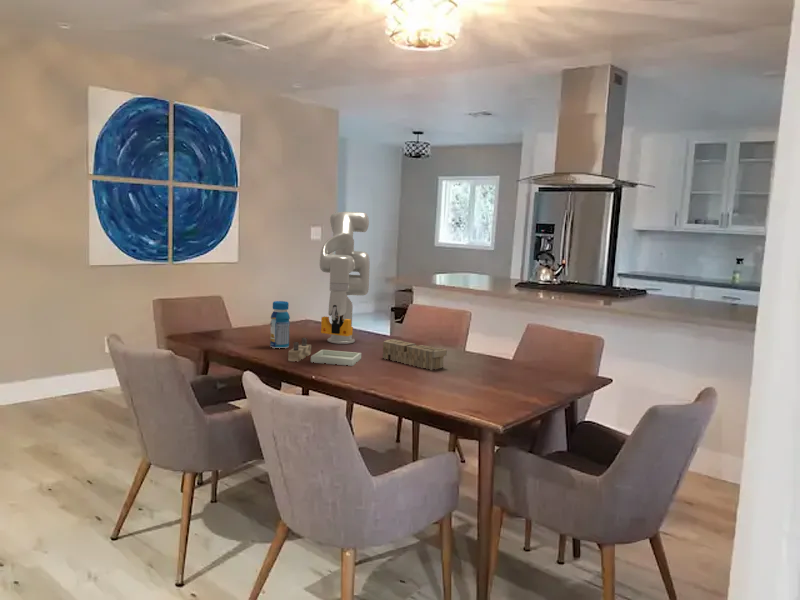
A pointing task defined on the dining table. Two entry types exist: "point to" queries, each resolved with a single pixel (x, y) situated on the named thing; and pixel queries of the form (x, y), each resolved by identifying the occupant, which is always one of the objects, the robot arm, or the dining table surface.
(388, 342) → the block tower
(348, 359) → the tray
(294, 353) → the block
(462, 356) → the dining table surface
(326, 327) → the pipe clamp
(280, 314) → the beverage bottle
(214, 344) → the dining table surface
